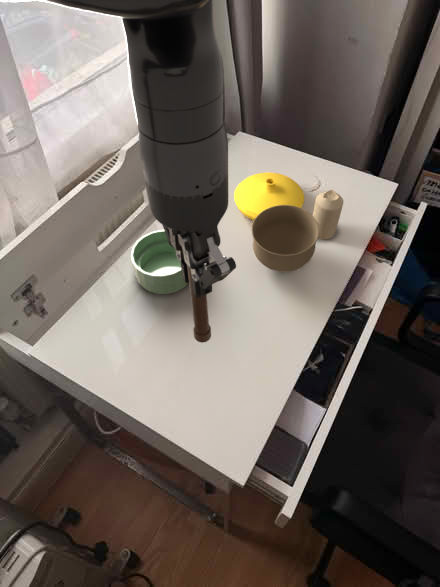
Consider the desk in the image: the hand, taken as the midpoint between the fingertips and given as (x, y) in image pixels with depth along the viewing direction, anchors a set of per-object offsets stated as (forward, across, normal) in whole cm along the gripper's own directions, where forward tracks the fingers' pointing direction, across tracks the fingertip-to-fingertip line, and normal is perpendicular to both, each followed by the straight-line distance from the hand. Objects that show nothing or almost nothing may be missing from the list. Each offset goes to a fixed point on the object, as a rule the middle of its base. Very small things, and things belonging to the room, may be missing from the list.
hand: (197, 285), depth 52 cm
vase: (+27, -30, +34) cm, 53 cm away
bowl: (+27, -15, +27) cm, 41 cm away
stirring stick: (+12, 0, 0) cm, 12 cm away
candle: (+27, -17, +40) cm, 51 cm away
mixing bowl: (+27, -26, +6) cm, 38 cm away
